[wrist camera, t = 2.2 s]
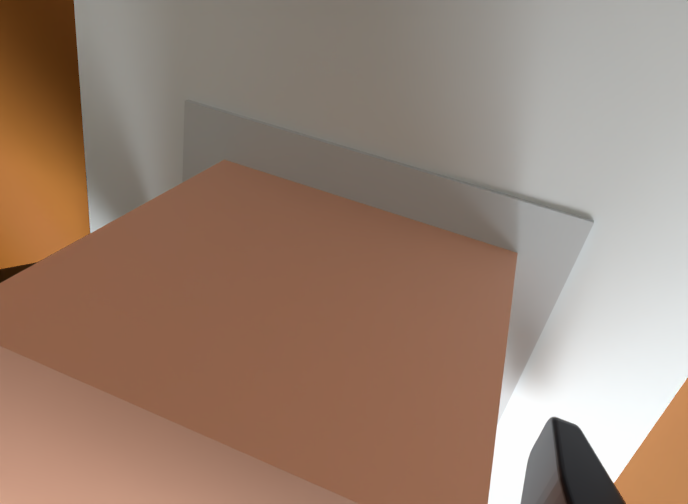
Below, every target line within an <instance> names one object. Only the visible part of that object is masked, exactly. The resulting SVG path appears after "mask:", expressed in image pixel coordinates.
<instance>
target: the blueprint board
mask: <svg viewBox="0 0 688 504" xmlns="http://www.w3.org/2000/svg"><path fill="white" fill-rule="evenodd" d="M74 10H75V24H76V38H77V52H78V66H79V80H80V94H81V108H82V122H83V136H84V150H85V164H86V178H87V192H88V206H89V220H90V233H92V232H94V231H96V230H97V229H99V228H101V227H103V226H105V225H106V224H108V223H110V222H112V221H114V220H116V219H117V218H119V217H121V216H123V215H125V214H126V213H128V212H130V211H132V210H134V209H135V208H137V207H139V206H141V205H143V204H145V203H146V202H148V201H150V200H152V199H154V198H155V197H157V196H159V195H161V194H163V193H165V192H166V191H168V190H170V189H172V188H174V187H175V186H177V185H179V184H181V183H183V182H184V181H186V180H188V179H190V178H192V177H194V176H195V175H197V174H199V173H201V172H203V171H204V170H206V169H208V168H210V167H212V166H213V165H215V164H217V163H219V162H221V161H223V160H227V161H231V162H234V163H237V164H240V165H243V166H246V167H249V168H252V169H256V170H259V171H262V172H265V173H268V174H271V175H274V176H278V177H281V178H284V179H287V180H290V181H293V182H296V183H300V184H303V185H306V186H309V187H312V188H315V189H318V190H322V191H325V192H328V193H331V194H334V195H337V196H340V197H344V198H347V199H350V200H353V201H356V202H359V203H362V204H366V205H369V206H372V207H375V208H378V209H381V210H384V211H388V212H391V213H394V214H397V215H400V216H403V217H406V218H409V219H413V220H416V221H419V222H422V223H425V224H428V225H431V226H435V227H438V228H441V229H444V230H447V231H450V232H453V233H457V234H460V235H463V236H466V237H469V238H472V239H475V240H479V241H482V242H485V243H488V244H491V245H494V246H497V247H501V248H504V249H507V250H510V251H513V252H516V253H518V254H517V263H516V271H515V279H514V288H513V296H512V305H511V313H510V321H509V330H508V338H507V346H506V355H505V363H504V372H503V380H502V388H501V397H500V405H499V414H498V422H497V430H496V439H495V447H494V456H493V464H492V472H491V481H490V489H489V498H488V504H521V497H522V491H523V485H524V479H525V473H526V467H527V462H528V458H529V455H530V452H531V450H532V448H533V446H534V444H535V442H536V440H537V439H538V437H539V435H540V433H541V431H542V429H543V428H544V426H545V424H546V422H547V421H548V420H549V419H550V418H551V417H558V418H560V419H563V420H566V421H568V422H571V423H574V424H576V425H577V426H578V427H579V428H580V429H581V430H582V432H583V434H584V435H585V437H586V438H587V440H588V442H589V443H590V445H591V447H592V448H593V450H594V452H595V453H596V455H597V457H598V458H599V460H600V462H601V463H602V465H603V467H604V468H605V470H606V471H607V473H608V475H609V476H610V478H611V480H612V481H613V483H614V482H615V481H616V479H617V478H618V476H619V475H620V473H621V472H622V471H623V469H624V468H625V466H626V465H627V463H628V462H629V461H630V459H631V458H632V456H633V455H634V453H635V452H636V451H637V449H638V448H639V446H640V445H641V443H642V442H643V440H644V439H645V438H646V436H647V435H648V433H649V432H650V430H651V429H652V428H653V426H654V425H655V423H656V422H657V420H658V419H659V418H660V416H661V415H662V413H663V412H664V410H665V409H666V408H667V406H668V405H669V403H670V402H671V400H672V399H673V398H674V396H675V395H676V393H677V392H678V390H679V389H680V387H681V386H682V385H683V383H684V382H685V380H686V379H687V377H688V0H74Z"/></svg>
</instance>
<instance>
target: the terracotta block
mask: <svg viewBox="0 0 688 504" xmlns="http://www.w3.org/2000/svg"><path fill="white" fill-rule="evenodd" d="M517 254H518V253H516V252H513V251H510V250H507V249H504V248H501V247H497V246H494V245H491V244H488V243H485V242H482V241H479V240H475V239H472V238H469V237H466V236H463V235H460V234H457V233H453V232H450V231H447V230H444V229H441V228H438V227H435V226H431V225H428V224H425V223H422V222H419V221H416V220H413V219H409V218H406V217H403V216H400V215H397V214H394V213H391V212H388V211H384V210H381V209H378V208H375V207H372V206H369V205H366V204H362V203H359V202H356V201H353V200H350V199H347V198H344V197H340V196H337V195H334V194H331V193H328V192H325V191H322V190H318V189H315V188H312V187H309V186H306V185H303V184H300V183H296V182H293V181H290V180H287V179H284V178H281V177H278V176H274V175H271V174H268V173H265V172H262V171H259V170H256V169H252V168H249V167H246V166H243V165H240V164H237V163H234V162H231V161H227V160H223V161H221V162H219V163H217V164H215V165H213V166H212V167H210V168H208V169H206V170H204V171H203V172H201V173H199V174H197V175H195V176H194V177H192V178H190V179H188V180H186V181H184V182H183V183H181V184H179V185H177V186H175V187H174V188H172V189H170V190H168V191H166V192H165V193H163V194H161V195H159V196H157V197H155V198H154V199H152V200H150V201H148V202H146V203H145V204H143V205H141V206H139V207H137V208H135V209H134V210H132V211H130V212H128V213H126V214H125V215H123V216H121V217H119V218H117V219H116V220H114V221H112V222H110V223H108V224H106V225H105V226H103V227H101V228H99V229H97V230H96V231H94V232H92V233H90V234H88V235H86V236H85V237H83V238H81V239H79V240H77V241H76V242H74V243H72V244H70V245H68V246H67V247H65V248H63V249H61V250H59V251H57V252H56V253H54V254H52V255H50V256H48V257H47V258H45V259H43V260H41V261H39V262H38V263H36V264H34V265H32V266H30V267H28V268H27V269H25V270H23V271H21V272H19V273H18V274H16V275H14V276H12V277H10V278H8V279H7V280H5V281H3V282H1V283H0V504H488V498H489V489H490V481H491V472H492V464H493V456H494V447H495V439H496V430H497V422H498V414H499V405H500V397H501V388H502V380H503V372H504V363H505V355H506V346H507V338H508V330H509V321H510V313H511V305H512V296H513V288H514V279H515V271H516V263H517Z"/></svg>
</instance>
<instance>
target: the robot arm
mask: <svg viewBox="0 0 688 504" xmlns="http://www.w3.org/2000/svg"><path fill="white" fill-rule="evenodd" d="M37 263H38V262H37ZM34 264H36V263H32V264H26V265H21V266H16V267H10V268H5V269H0V283H1V282H3V281H5V280H7V279H8V278H10V277H12V276H14V275H16V274H18V273H19V272H21V271H23V270H25V269H27V268H28V267H30V266H32V265H34ZM521 504H626V503H625V501H624V500H623V498H622V496H621V495H620V493H619V491H618V490H617V488H616V486H615V485H614V483H613V481H612V480H611V478H610V476H609V475H608V473H607V471H606V470H605V468H604V467H603V465H602V463H601V462H600V460H599V458H598V457H597V455H596V453H595V452H594V450H593V448H592V447H591V445H590V443H589V442H588V440H587V438H586V437H585V435H584V434H583V432H582V430H581V429H580V428H579V427H578V426H577V425H576V424H574V423H571V422H568V421H566V420H563V419H560V418H558V417H551V418H550V419H549V420H548V421H547V422H546V424H545V426H544V428H543V429H542V431H541V433H540V435H539V437H538V439H537V440H536V442H535V444H534V446H533V448H532V450H531V452H530V455H529V458H528V462H527V467H526V473H525V479H524V485H523V491H522V497H521Z"/></svg>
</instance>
